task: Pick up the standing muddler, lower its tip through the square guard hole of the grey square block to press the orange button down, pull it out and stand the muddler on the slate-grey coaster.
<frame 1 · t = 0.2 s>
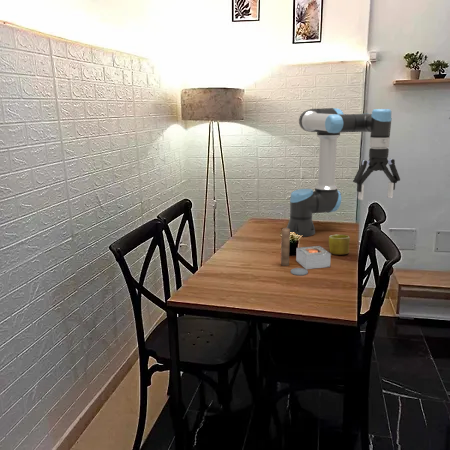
hand: (375, 198, 185), 28 cm above the table, fingers open, 13 cm apart
mug: (338, 252, 205), on the table
muddler: (285, 264, 189), on the table
coaster: (299, 272, 180), on the table
button: (313, 253, 188), point 5 cm above the table, slide at 0.0 cm
grey square block: (312, 263, 190), on the table
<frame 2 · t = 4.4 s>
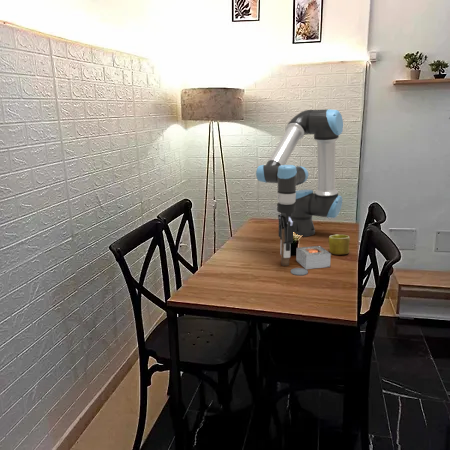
hand: (285, 255, 188), 4 cm above the table, fingers closed on muddler, 3 cm apart
muddler: (285, 264, 189), on the table, touching gripper
everything else where it was.
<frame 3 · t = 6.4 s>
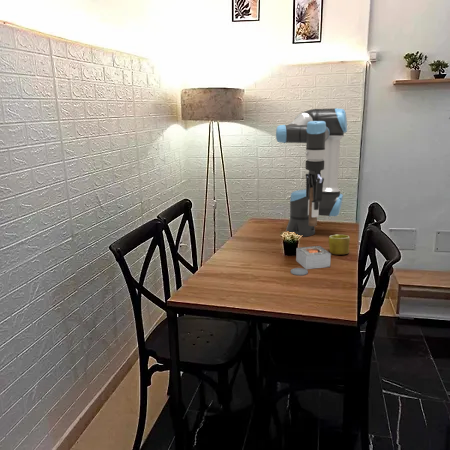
hand: (313, 215, 184), 21 cm above the table, fingers closed on muddler, 3 cm apart
muddler: (312, 225, 185), point 17 cm above the table, touching gripper
everything else where it was.
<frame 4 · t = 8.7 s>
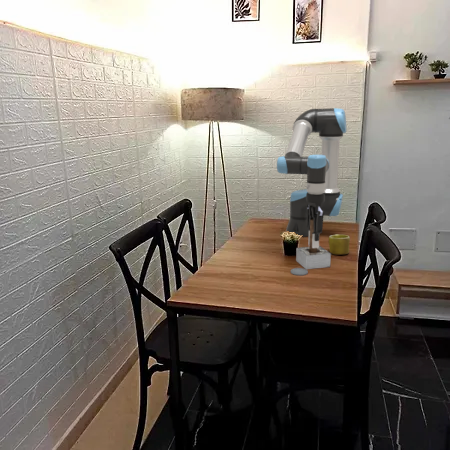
hand: (313, 246, 187), 8 cm above the table, fingers closed on muddler, 3 cm apart
muddler: (313, 255, 189), point 4 cm above the table, touching gripper
button: (313, 258, 189), point 2 cm above the table, slide at 2.2 cm
everything else where it was.
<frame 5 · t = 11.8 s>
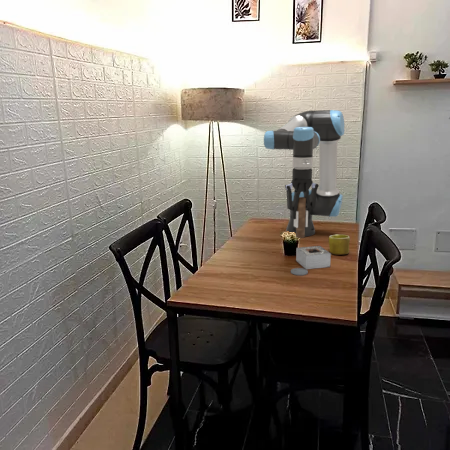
hand: (300, 226, 175), 20 cm above the table, fingers closed on muddler, 3 cm apart
muddler: (300, 236, 176), point 15 cm above the table, touching gripper
everything else where it was.
when the fingers open (5 cm above the table, at t = 14.0 s): muddler stays where it is, resting on coaster.
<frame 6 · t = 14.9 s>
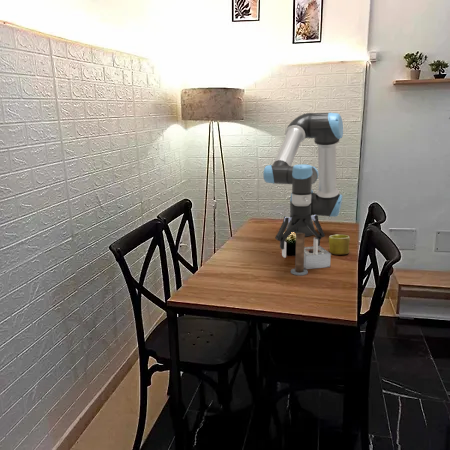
hand: (299, 255, 178), 8 cm above the table, fingers open, 13 cm apart
muddler: (299, 271, 180), point 1 cm above the table, touching coaster
everything else where it was.
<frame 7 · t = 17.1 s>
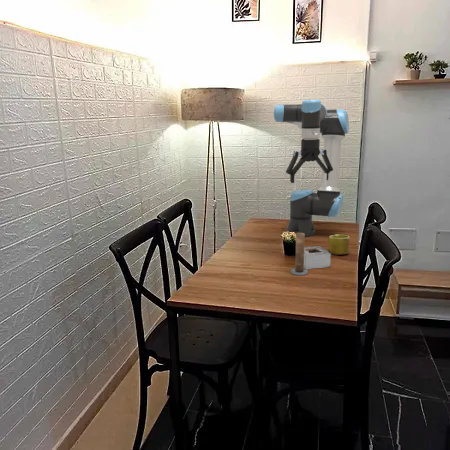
hand: (309, 189, 186), 32 cm above the table, fingers open, 13 cm apart
nothing on the table moved.
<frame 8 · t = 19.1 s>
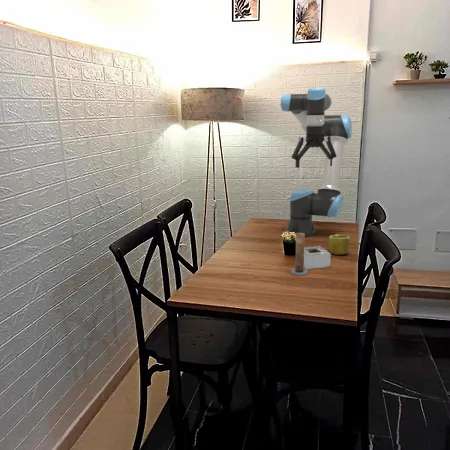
hand: (313, 174, 194), 37 cm above the table, fingers open, 13 cm apart
nothing on the table moved.
at the end: button slide at 2.2 cm; muddler inside the target area on the coaster (0.0 cm from its centre), point 0.6 cm above the coaster's base; muddler tilted 0° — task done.
